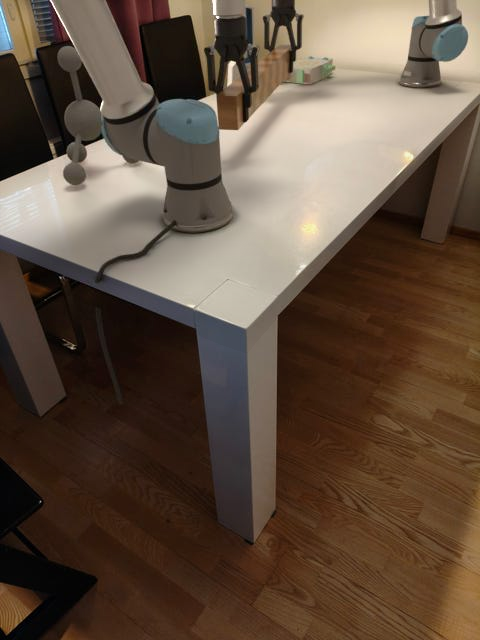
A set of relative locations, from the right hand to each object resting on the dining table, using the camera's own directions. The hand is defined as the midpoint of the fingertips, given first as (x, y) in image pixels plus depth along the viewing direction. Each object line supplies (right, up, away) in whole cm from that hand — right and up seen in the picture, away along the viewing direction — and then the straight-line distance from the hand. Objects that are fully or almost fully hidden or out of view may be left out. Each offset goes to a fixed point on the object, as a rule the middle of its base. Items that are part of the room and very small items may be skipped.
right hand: (282, 71), depth 171 cm
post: (-8, -18, -21) cm, 29 cm away
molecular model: (-52, -46, -37) cm, 79 cm away
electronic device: (-13, -1, +18) cm, 22 cm away
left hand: (-16, -35, -44) cm, 58 cm away
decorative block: (+13, +16, +37) cm, 43 cm away
